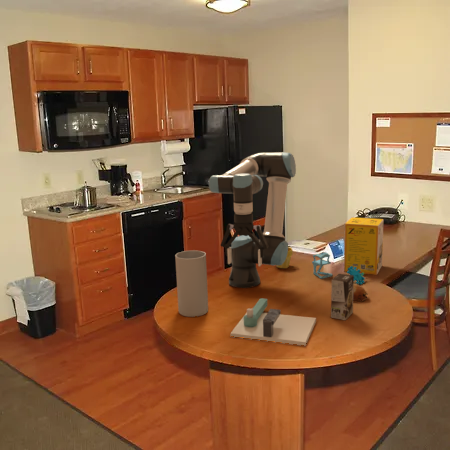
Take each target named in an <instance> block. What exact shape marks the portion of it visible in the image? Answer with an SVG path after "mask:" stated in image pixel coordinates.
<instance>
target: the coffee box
mask: <svg viewBox="0 0 450 450" xmlns="http://www.w3.org/2000/svg"><path fill="white" fill-rule="evenodd" d="M353 284H355V281H354V275H350V274H348V273H347V274H345V273H338V274H337V275H336V276H334V277H333V278H331V292H330V293H331V294H330V297H331V299H330V300H331V302H330V303H331V304H330V307H331V308H330V318H333V319H336V320H342V321H346V320H348V318H349V317H350V316H352V314H353V312H354V301H353Z"/></svg>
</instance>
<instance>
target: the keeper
mask: <svg viewBox="0 0 450 450" xmlns="http://www.w3.org/2000/svg"><path fill="white" fill-rule="evenodd" d="M281 311H282V310H281V309H278V308H270V309H269V310H268V312H266V313H267V315H266V316H265V317H264V319H263V337H272V336H273V325H274V323H275V322H276V320H277V319H278V317H279V315H280V314H281Z"/></svg>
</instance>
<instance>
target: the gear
mask: <svg viewBox="0 0 450 450" xmlns="http://www.w3.org/2000/svg"><path fill="white" fill-rule="evenodd" d="M356 269H357V268H356V267H354V270H353V266H351V267H350V268H348V270H349V271H347V272H346V273H347V275H354V284H357V285H360V286H362V285H363V284H364V283H365V282H366V281H365V280H366V278H365V277H364V275H365V274H364V272H363V273H359V272H360V269H358V270H357V271H356Z"/></svg>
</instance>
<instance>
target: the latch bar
mask: <svg viewBox="0 0 450 450" xmlns="http://www.w3.org/2000/svg"><path fill="white" fill-rule="evenodd" d="M267 307H268V298H259V300H258V301H257V302H256V303H255V305H254V306H252V308H250V307H249V308H246V313H247V315H245V314H244V315H245V316H244V315H243V317H244V326H247V327H254V326H256V325H257V320H258V318H259V317H260V316H261V314H262V313H264V311H265V309H266V308H267Z"/></svg>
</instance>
